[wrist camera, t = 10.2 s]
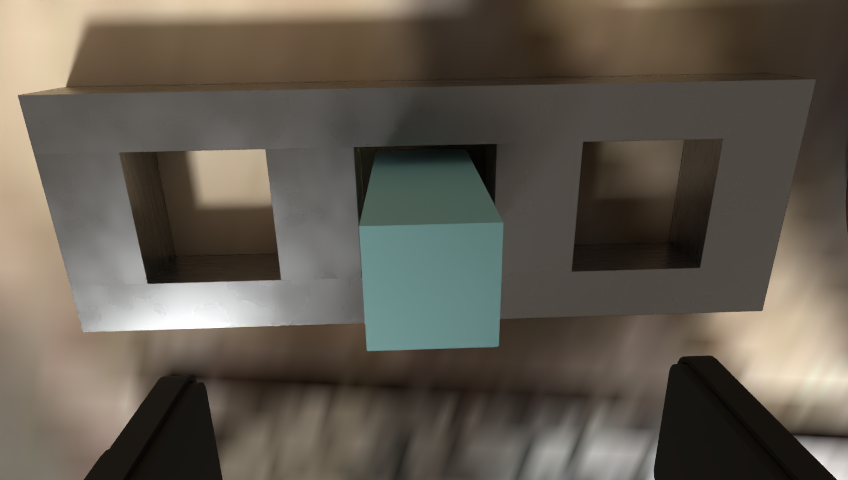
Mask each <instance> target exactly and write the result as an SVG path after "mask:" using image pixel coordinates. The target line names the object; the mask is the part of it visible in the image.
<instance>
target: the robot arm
mask: <svg viewBox="0 0 848 480" xmlns="http://www.w3.org/2000/svg"><path fill="white" fill-rule="evenodd" d="M654 478H655V480H837V479H836V478H835V477H834V476H833V475H832V474H831V473H830V472H829V471H828V470H827V469H826V468H825V467H824V466H823V465H822V464H821V463H820V462H819V461H818V460H817V459H816V458H815V457H814V456H813V455H812V454H811V453H810V452H809V451H808V450H807V449H806V448H805V447H804V446H803V445H802V444H801V443H800V442H799V441H798V440H797V439H796V438H795V437H794V436H793V435H792V434H791V433H790V432H789V431H788V430H787V429H786V428H785V427H784V426H783V425H782V424H781V423H780V422H779V421H778V420H777V419H776V418H775V417H774V416H773V415H772V414H771V413H770V412H769V411H768V410H767V409H766V408H765V407H764V406H763V405H762V404H761V403H760V402H759V401H758V400H757V399H756V398H755V397H754V396H753V395H752V394H751V393H750V392H749V391H748V390H747V389H746V388H745V387H744V386H743V385H742V384H741V383H740V382H739V381H738V380H737V379H736V378H735V377H734V376H733V375H732V374H731V373H730V372H729V371H728V370H727V369H726V368H725V367H724V366H723V365H722V364H721V363H720V362H719V361H718V360H717V359H716V358H714V357H713V356H686V357H681V358H680V359H679V361H678V363H677V364H674V365H672V366H671V368H670V371H669V377H668V384H667V390H666V396H665V402H664V409H663V415H662V421H661V428H660V434H659V440H658V446H657V453H656V459H655V465H654ZM84 480H222V474H221V469H220V463H219V458H218V452H217V446H216V441H215V435H214V430H213V424H212V419H211V413H210V408H209V402H208V397H207V391H206V387H205V385H204V383H202V382H199V383H197V381H196V379H195V377H194V376H192V375H187V376H164V377H161V378H160V379H159V380H158V382H157V383H156V384H155V386H154V387H153V389H152V390H151V391H150V393H149V394H148V396H147V397H146V398H145V400H144V401H143V403H142V404H141V405H140V407H139V408H138V410H137V411H136V412H135V414H134V415H133V417H132V418H131V419H130V421H129V422H128V424H127V425H126V426H125V428H124V429H123V431H122V432H121V433H120V435H119V436H118V438H117V439H116V440H115V442H114V443H113V445H112V446H111V447H110V449H108V450H106V451H105V452H104V453H103V454H102V456H101V457H100V458H99V459H98V461H97V462H96V463H95V465H94V466H93V468H92V469H91V470H90V472H89V473H88V475H87V476H86V477H85V479H84Z"/></svg>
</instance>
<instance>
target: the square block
mask: <svg viewBox="0 0 848 480" xmlns="http://www.w3.org/2000/svg"><path fill="white" fill-rule="evenodd" d="M359 235H360V251H361V267H362V282H363V298H364V314H365V329H366V345H367V351H386V350H416V349H447V348H477V347H499V329H500V302H501V275H502V249H503V221H502V219H501V217H500V215H499V213H498V211H497V209H496V207H495V205H494V203H493V201H492V199H491V197H490V195H489V193H488V191H487V189H486V187H485V185H484V184H483V182H482V180H481V178H480V176H479V174H478V172H477V170H476V168H475V166H474V164H473V162H472V160H471V158H470V156H469V154H468V152H467V150H466V149H436V150H395V151H376V154H375V159H374V163H373V167H372V172H371V176H370V180H369V185H368V189H367V193H366V198H365V202H364V206H363V211H362V215H361V220H360V224H359Z"/></svg>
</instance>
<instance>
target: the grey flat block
mask: <svg viewBox="0 0 848 480" xmlns="http://www.w3.org/2000/svg"><path fill="white" fill-rule="evenodd" d="M815 83H816V79H810V78H802V77H794V76H785V75H777V74H769V73H761V74H711V75H660V76H609V77H558V78H507V79H457V80H406V81H355V82H304V83H253V84H203V85H152V86H101V87H63V88H57V89H52V90H46V91H40V92H34V93H28V94H22V95H18V98H19V101H20V105H21V109H22V112H23V116H24V119H25V123H26V127H27V130H28V134H29V138H30V141H31V145H32V148H33V152H34V156H35V159H36V163H37V167H38V170H39V174H40V177H41V181H42V185H43V188H44V192H45V196H46V199H47V203H48V206H49V210H50V214H51V217H52V221H53V224H54V228H55V232H56V235H57V239H58V243H59V246H60V250H61V253H62V257H63V261H64V264H65V268H66V272H67V275H68V279H69V282H70V286H71V290H72V293H73V297H74V301H75V304H76V308H77V311H78V315H79V319H80V322H81V326H82V330H83V332H97V331H129V330H161V329H194V328H226V327H258V326H290V325H322V324H355V323H365V314H364V298H363V282H362V267H361V251H360V235H359V224H360V220H361V215H362V211H363V206H364V204H363V186H362V169H361V152H360V147H377V146H421V145H464V144H486V160H485V187H486V189H487V191H488V193H489V195H490V197H491V199H492V201H493V203H494V205H495V207H496V209H497V211H498V213H499V215H500V217H501V219H502V221H503V249H502V275H501V302H500V319H516V318H548V317H580V316H612V315H645V314H677V313H709V312H741V311H762V310H763V306H764V301H765V297H766V293H767V288H768V284H769V280H770V276H771V271H772V267H773V263H774V258H775V254H776V250H777V246H778V241H779V237H780V233H781V228H782V224H783V220H784V216H785V211H786V207H787V203H788V198H789V194H790V190H791V186H792V181H793V177H794V173H795V168H796V164H797V160H798V156H799V151H800V147H801V143H802V138H803V134H804V130H805V126H806V121H807V117H808V113H809V108H810V104H811V100H812V96H813V91H814V87H815ZM684 139H685V142H684V148H683V154H682V161H681V167H680V174H679V180H678V186H677V193H676V199H675V206H674V212H673V219H672V225H671V231H670V238H669V243H643V244H606V245H574V239H575V227H576V216H577V205H578V194H579V182H580V171H581V160H582V149H583V142H596V141H640V140H684ZM245 149H265V150H266V158H267V166H268V174H269V182H270V191H271V199H272V207H273V215H274V224H275V232H276V240H277V248H278V254H245V255H209V256H175V251H174V246H173V241H172V236H171V231H170V226H169V221H168V216H167V210H166V205H165V200H164V195H163V190H162V185H161V180H160V175H159V169H158V164H157V159H156V154H155V152H157V151H201V150H245Z"/></svg>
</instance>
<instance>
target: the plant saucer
mask: <svg viewBox="0 0 848 480" xmlns="http://www.w3.org/2000/svg"><path fill="white" fill-rule="evenodd" d="M846 222H847V231H848V182H847V190H846Z"/></svg>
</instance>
